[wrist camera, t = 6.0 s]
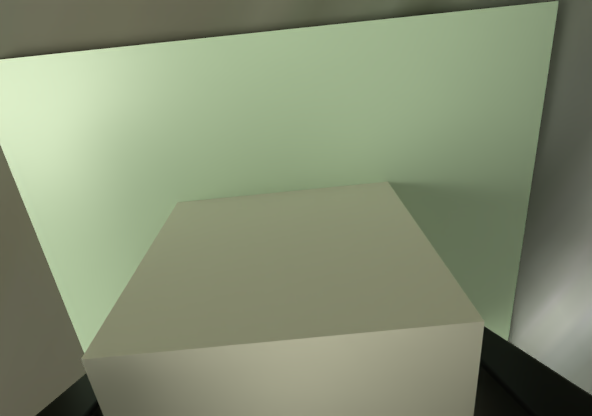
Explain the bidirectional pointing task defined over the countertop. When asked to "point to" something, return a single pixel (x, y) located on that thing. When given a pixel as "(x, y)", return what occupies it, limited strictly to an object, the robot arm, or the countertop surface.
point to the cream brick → (290, 314)
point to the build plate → (284, 138)
